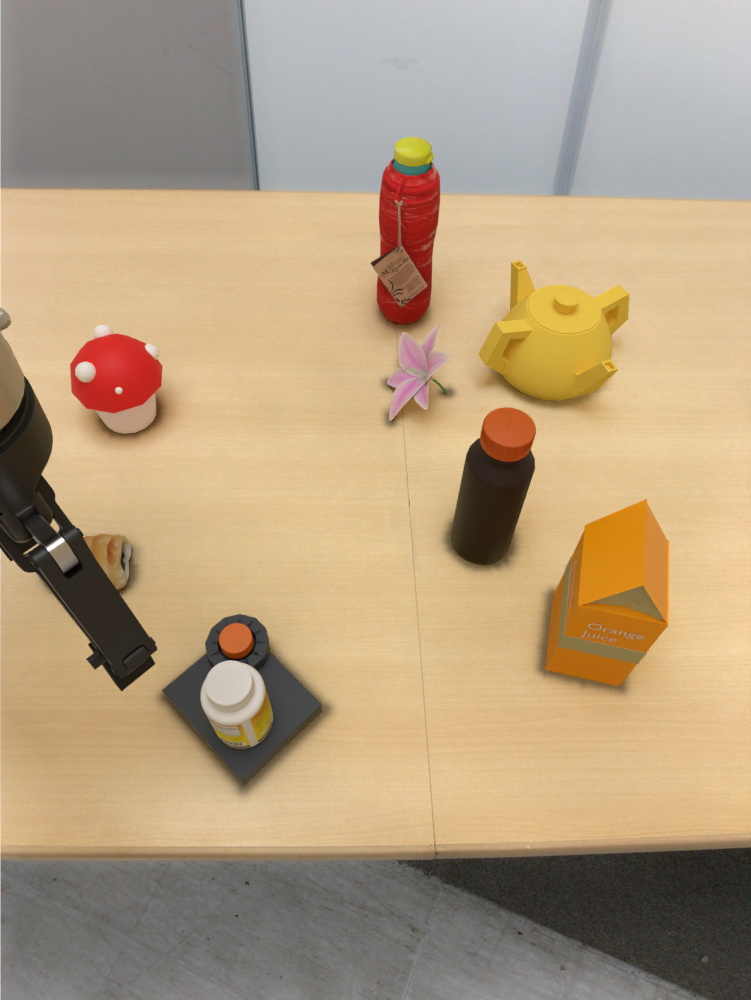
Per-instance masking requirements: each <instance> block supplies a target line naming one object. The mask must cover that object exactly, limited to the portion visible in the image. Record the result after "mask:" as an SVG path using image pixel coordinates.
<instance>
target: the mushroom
mask: <svg viewBox="0 0 751 1000" xmlns="http://www.w3.org/2000/svg"><path fill="white" fill-rule="evenodd" d="M159 357H160V350H159V348H158V346H156V345H154V344H153V343H146V342H144V341H142V340H139V339H138V338H135V337H132V336H130V335H126V334H121V333H114V330H113V329H112V328H111V326H109V325H108V324H99V325H97V326H95V327H94V329H93V339H90V340H88V341H87V342H85V343H84V344H83V345H82V346H81V347H80V349H79V350H78V352H77V353H76V355H75V356H74V358H73V359H72V361H71V362H70V364H69V368H70V369H69V370H70V372H69V373H70V390H71V394H72V395H74V397H75V398H76V399H77V401H79V402H80V403H81V404H82V406H83V407H84V408H85V409H86V410H92V411H95V412H96V414H97V415H98V416H99V418H100V419H101V420H102V422H103V423H104V425H105V426H106V427H107V428H108V429H110V430H111V431H112V432H114V433H119V434H125V435H126V434H133V433H134V434H136V433H138V432H140V431H142V430H145V429H146V428H147V427H148V426H150V425H151V424H152V423H153V421H154V420H155V418H156V416H157V400H156V399H157V398H156V392H157V391H158V390H159V389H160V388H161V387H162V381H163V380H162V379H163V367H164V366H163V364H162V363H161V362H160V361H159Z"/></svg>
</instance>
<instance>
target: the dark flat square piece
mask: <svg viewBox="0 0 751 1000" xmlns="http://www.w3.org/2000/svg"><path fill="white" fill-rule="evenodd" d="M233 623H241V624H244V625H246V626H247V627H248V628H249V629H250V631H251V633H252V637H253V641H254V645H253V648H252V650H251V652H250V653H249V654H248V655H247V656H245V657H243V658H241V659H231V658H229V657H227V656H226V655H225V654H224V653H223V651H222V649H221V646H220V644H219V636H220V633H221V632H222V630H223V629H224V628H225V627H226V626H228V625H230V624H233ZM204 645H205V652H206V653H205V654H203V655H202V656H201V657H200V658H199V659H197V660H196V661H195V662H194V663H193V664H191V665H190V666H189V667H188V668H187V669H185V670H184V671H183V672H182V673H181V674H179V676H177V677H176V678H174V679H173V680H172V681H171V682H170V683H168V684H167V685H166V686H165V687H164V688H163V689H161V691H162V693H163V694H164V696H165V698H166V699H167V700H168V701H169V702H170V703H171V705H172V706H173V707H174V708H175V709H176V710H177V711H178V713H179V714H180V715H181V716H182V717H183V718H184V720H185V721H186V722H187V723H188V724H189V725H190V726H191V727H192V729H193V730H194V731H195V732H196V733H197V734H198V736H199V737H200V738H201V739H202V740H203V741H204V742H205V744H207V746H208V747H209V748H210V749H211V750H212V752H213V753H214V754H215V755H216V756H217V758H218V759H220V761H221V762H222V763H223V764H224V766H226V768H227V769H228V770H229V771H230V772H231V774H232V775H233V776H234V777H235V778H236V779H237V780H238V781H239V782H240V784H241V785H242V786H245V785H246V784H247V783H248V782H250V780H251V779H252V778H254V777H255V776H256V775H257V774H258V773H259V772H260V771H261V770H262V769H263V768H264V767H266V765H267V764H268V763H270V762H271V761H272V760H273V758H275V757H276V756H277V754H279V753H280V752H281V751H282V750H283V749H284V748H286V746H287V745H288V744H289V743H291V742H292V741H293V740H294V739H295V738H296V737H297V736H298V735H299V734H300V733H301V732H302V731H303V730H304V729H305V728H307V726H308V725H309V724H310V723H311V722H313V721H314V720H315V719H316V718H317V717H318V716H319V715H320V714H321V713H322V712H323V706H322V703H321V702H320V701H319V700H318V699H317V698H316V697H315V696H314V695H313V694H312V693H311V692H310V691H309V690H308V689H307V688H306V687H305V686H304V684H302V683H301V682H300V681H299V680H298V679H297V678H296V677H295V676H294V675H293V674H292V673H291V672H290V671H289V670H288V668H286V667H285V666H284V664H283V663H281V661H280V660H278V658H276V656H275V655H274V654H272V652H271V644H270V639H269V635H268V631H267V628H266V627H265V626H264V624H263V623H261V621H260V620H259V619H257V618H256V617H254V616H250V615H246V614H242V613H238V614H233V615H229V616H225V617H223V618H222V619H220V620H219V621H218V622H217V623H216V624H214V625H213V626H212V627H211V628H210V630H209V633H208V635H207V637H206V640H205V642H204ZM229 660H232V661H238V662H241V663H245V664H248V665H250V666H251V667H253V668H254V669H256V670H257V671H258V673H259V674H260V675H261V677H262V679H263V681H264V684H265V687H266V691H267V694H268V698H269V701H270V704H271V707H272V712H273V722H272V726H271V729H270V731H269V733H268V734H267V736H266V737H265V738H264V739H263V740H262V741H261V742H260V743H258V744H257V745H255V746H252V747H250V748H245V749H237V748H233V747H230V746H228V745H226V744H225V743H223V742H222V741H221V740H220V738H219V737H218V736H217V734H216V732H215V730H214V728H213V727H212V725H211V723H210V721H209V719H208V717H207V716H206V714H205V712H204V710H203V708H202V705H201V699H200V695H201V688H202V685H203V683H204V681H205V679H206V677H207V675H208V673H209V672H210V670H211V669H212V668H213V667H214V666H216V665H217V664H219V663H221V662H224V661H229Z"/></svg>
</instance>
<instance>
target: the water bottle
mask: <svg viewBox="0 0 751 1000" xmlns="http://www.w3.org/2000/svg"><path fill="white" fill-rule="evenodd" d="M434 157H435V154H434V153H433V152H432V145H431V144H430V142H429V141H428V140H427V139H424V138H421V137H418V136H406V137H403V138H400V139H399V140H398V141H396V142H395V143H394V147H393V158H392V159H391V160H390V161H389V164H388V165H386V166H385V168H384V170H383V172H382V177H381V184H380V191H379V199H378V200H379V201H378V225H379V238H380V239H379V240H380V241H379V242H380V243H379V257H377V258H376V259H374V260H371V262H370V265H371V266H372V269H373V270H374V272H375V273H376V274H377V280H376V281H377V282H376V303H377V305H378V308H379V309H380V312H381V313H382V315H383V316H384V317H385V319H386V320H388V321H390V322H392V323H394V324H396V325H410V324H412V323H416V322H418V321H419V320H420V319H421V318H422V317H423V316H424V315H425V314H426V312H427V310H428V309H429V307H430V305H431V297H432V288H433V286H432V285H433V254H434V245H435V240H436V235H437V231H438V225H439V218H440V217H439V216H440V209H441V208H440V207H441V176H440V173H439V171H438V169H437V168H436V167H435V163H434V162H433V160H434Z"/></svg>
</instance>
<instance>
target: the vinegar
mask: <svg viewBox="0 0 751 1000" xmlns="http://www.w3.org/2000/svg"><path fill="white" fill-rule="evenodd" d="M479 434H480V435H479V437H478V438H477V439H476V440H474V442H473V443H472V444H470V446H469V448H468V450H467V452H466V454H465V459H464V464H463V469H462V474H461V480H460V483H459V489H458V493H457V494H458V495H457V500H456V504H455V510H454V515H453V520H452V526H451V530H450V541H451V544H452V547H453V549H454V550H455V552H456V553H457V554H458V555H459V556H460V557H461V558H462V559H464V560H466V561H467V562H470V563H473V564H475V565H476V564H478V565H489V564H493V563H495V562H498V561H499V560H501V559H502V558H503V557H504V556H505V555H506V554H507V553H508V552H509V550H510V549H509V548H510V546H511V543H512V541H513V538H514V534H515V531H516V528H517V525H518V522H519V519H520V516H521V513H522V510H523V507H524V503H525V501H526V497H527V494H528V492H529V489H530V486H531V482H532V480H533V476H534V473H535V472H536V471H535V470H536V458H535V455H534V454H533V452H532V451H533V450H532V447H533V444H534V441H535V438H536V435H537V426H536V424H535V421H534V419H533V418H532V417H531V416H530V414H528V413H526V412H524V411H523V410H522V409H518V408H515V407H511V406H510V407H507V406H503V407H499V408H495V409H493V410H491V411H489V413H487V414H486V415H485V417H484V418H483V422H482V425H481V430H480V433H479Z"/></svg>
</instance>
